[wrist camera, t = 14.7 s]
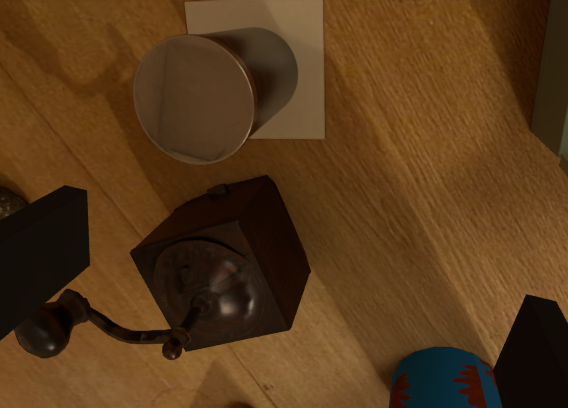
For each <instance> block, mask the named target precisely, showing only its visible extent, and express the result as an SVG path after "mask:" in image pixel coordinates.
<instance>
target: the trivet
mask: <svg viewBox="0 0 568 408" xmlns="http://www.w3.org/2000/svg"><path fill="white" fill-rule="evenodd" d="M184 4H185V13H186V21H187V29H188V34H205V33H213V32H220V31H227V30H235V29H242V28H250V27H259V28H264V29H267V30H270V31H272V32H274V33H276V34H277V35H279V36H280V37H281V38H282V39H283V40H284V41H285V42H286V43H287V44H288V45H289V47H290V48H291V50H292V52H293V54H294V56H295V59H296V62H297V66H298V82H297V86H296V90H295V92H294V94H293V96H292V98H291V100H290V101H289V102H288V103H287V105H286V106H285V107H283V108H282V109H281V110H280V111H279V112H278V113H277V114H276V115H274V116H273V117H272V118H271V119H270V120H269V121H268V122H266V123H265V124H264V125H263V126H262V127H261V128H260V129H259V130H257V131H256V132H255V133H254V134H253V135H252V136H251V137H249V138H248V139H321V140H324V139H325V138H326V103H325V31H324V0H210V1H193V2H184Z"/></svg>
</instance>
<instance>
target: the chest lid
mask: <svg viewBox="0 0 568 408" xmlns="http://www.w3.org/2000/svg"><path fill="white" fill-rule="evenodd" d="M559 166H560V167H561V169H562V170H563V171H564V172H565V174H566V175H567V176H568V154H562V155H561V160H560V164H559Z"/></svg>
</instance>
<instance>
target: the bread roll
mask: <svg viewBox="0 0 568 408" xmlns="http://www.w3.org/2000/svg"><path fill="white" fill-rule="evenodd" d="M25 206H27V203H25V202H24V201H23V200H22V198H20V197H17V196H16V195H14V194H12V193H11V192H9V191H8V190H6V189H5V188H0V220H1V219H3V218H5V217H7V216H9V215H10V214H12V213H14V212H16V211H18V210H20V209H22V208H23V207H25Z"/></svg>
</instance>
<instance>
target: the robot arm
mask: <svg viewBox="0 0 568 408" xmlns="http://www.w3.org/2000/svg"><path fill="white" fill-rule="evenodd" d="M88 266H90V254H89V229H88V203H87V190H83V189H79V188H75V187H70V186H66V185H64V186H63V187H61V188H59V189H57V190H55V191H53V192H51V193H50V194H48V195H46V196H44V197H42V198H40V199H38V200H36V201H35V202H33V203H31V204H29V205H27V206H25V207H23V208H22V209H20V210H18V211H16V212H14V213H12V214H10V215H9V216H7V217H5V218H3V219H1V220H0V340H2V339H3V338H4V337H5V336H6V335H8V334H9V333H10V332H11V331H12V330H14V329H15V328H16V327H17V326H18V325H20V324H21V323H22V322H23V321H24V320H25V319H27V318H28V317H29V316H30V315H31V314H33V313H34V312H35V311H36V310H37V309H39V308H40V307H41V306H42V305H43V304H44V303H46V302H47V301H48V300H49V299H50V298H52V297H53V296H54V295H55V294H56V293H58V292H59V291H60V290H61V289H62V288H64V287H65V286H66V285H67V284H68V283H69V282H71V281H72V280H73V279H74V278H75V277H77V276H78V275H79V274H80V273H81V272H83V271H84V270H85V269H86V268H87V267H88ZM493 373H494V377H495V381H496V385H497V388H498V392H499V396H500V400H501V404H502V408H568V323H567V321H566V319H565V317H564V315H563V313H562V311H561V310H560V308H559V306H558V304H557V302H556V301H553V300H549V299H544V298H540V297H536V296H532V295H527V294H526V296H525V298H524V301H523V303H522V305H521V308H520V310H519V312H518V314H517V317H516V319H515V321H514V324H513V326H512V328H511V330H510V333H509V335H508V337H507V340H506V342H505V344H504V346H503V349H502V351H501V353H500V356H499V358H498V360H497V362H496V365H495V367H494V369H493Z"/></svg>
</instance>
